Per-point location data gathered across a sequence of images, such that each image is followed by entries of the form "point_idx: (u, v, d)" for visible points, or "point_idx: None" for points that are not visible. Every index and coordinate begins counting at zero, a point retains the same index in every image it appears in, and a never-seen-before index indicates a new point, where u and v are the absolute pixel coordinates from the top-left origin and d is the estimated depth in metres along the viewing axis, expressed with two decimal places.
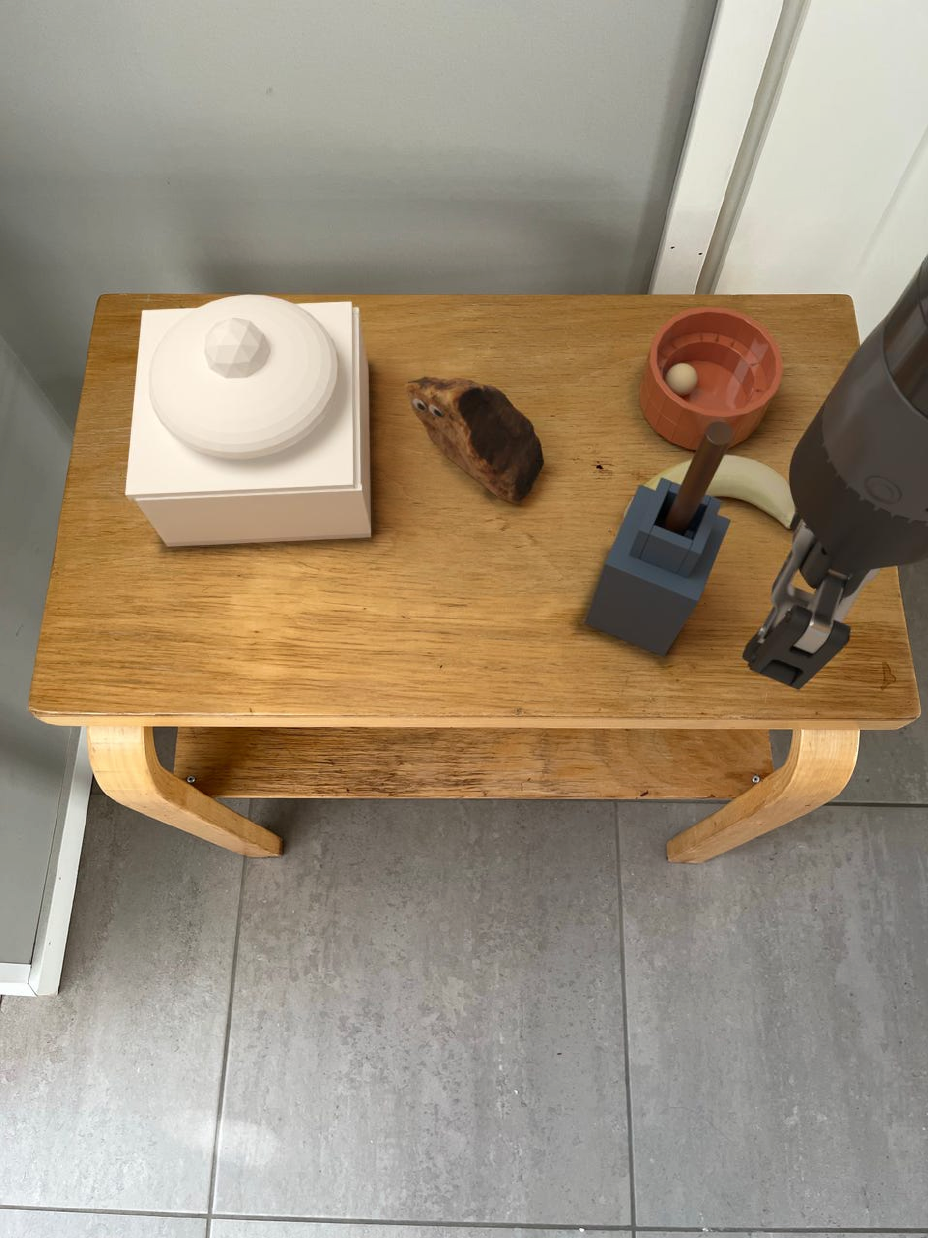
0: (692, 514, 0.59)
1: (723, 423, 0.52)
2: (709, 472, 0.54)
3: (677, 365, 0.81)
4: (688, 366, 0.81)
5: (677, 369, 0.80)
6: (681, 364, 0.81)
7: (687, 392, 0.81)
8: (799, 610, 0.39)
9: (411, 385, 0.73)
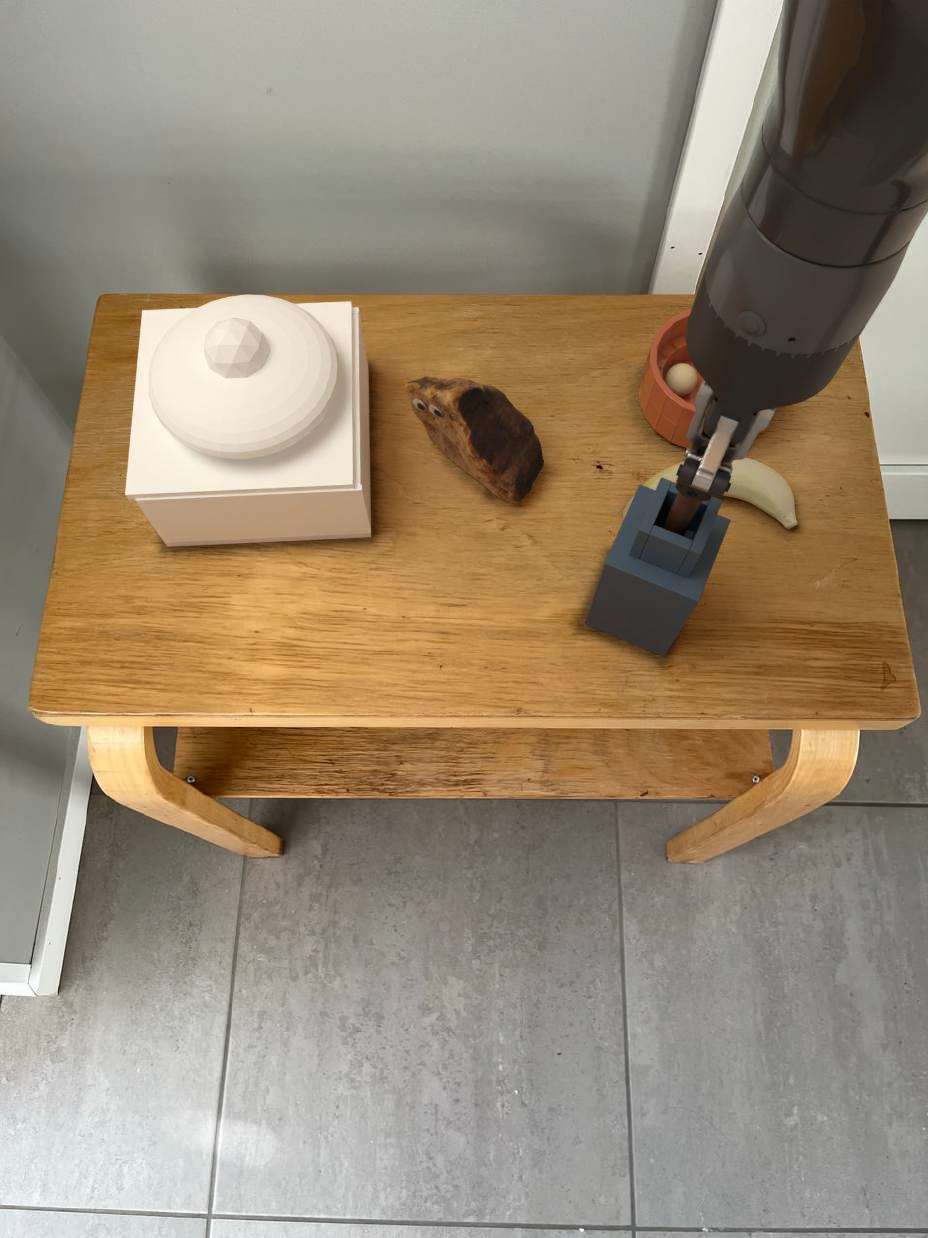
0: (692, 514, 0.59)
1: None
2: None
3: (677, 365, 0.81)
4: (688, 366, 0.81)
5: (677, 369, 0.80)
6: (681, 364, 0.81)
7: (687, 392, 0.81)
8: (686, 467, 0.46)
9: (411, 385, 0.73)
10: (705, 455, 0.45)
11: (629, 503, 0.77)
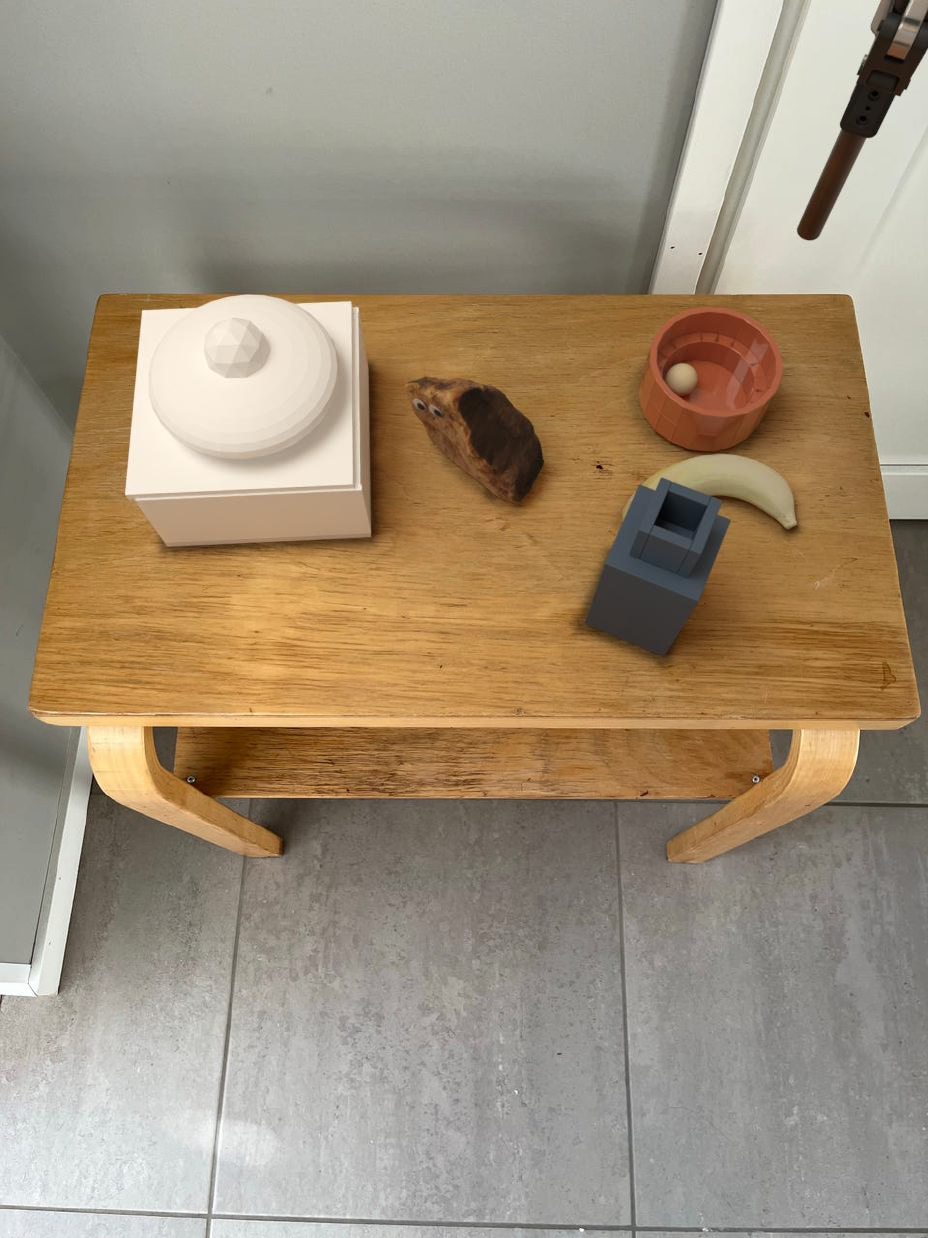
0: (846, 175, 0.57)
1: None
2: None
3: (677, 365, 0.81)
4: (688, 366, 0.81)
5: (677, 369, 0.80)
6: (681, 364, 0.81)
7: (687, 392, 0.81)
8: (889, 17, 0.43)
9: (411, 385, 0.73)
10: (910, 2, 0.43)
11: (628, 502, 0.77)
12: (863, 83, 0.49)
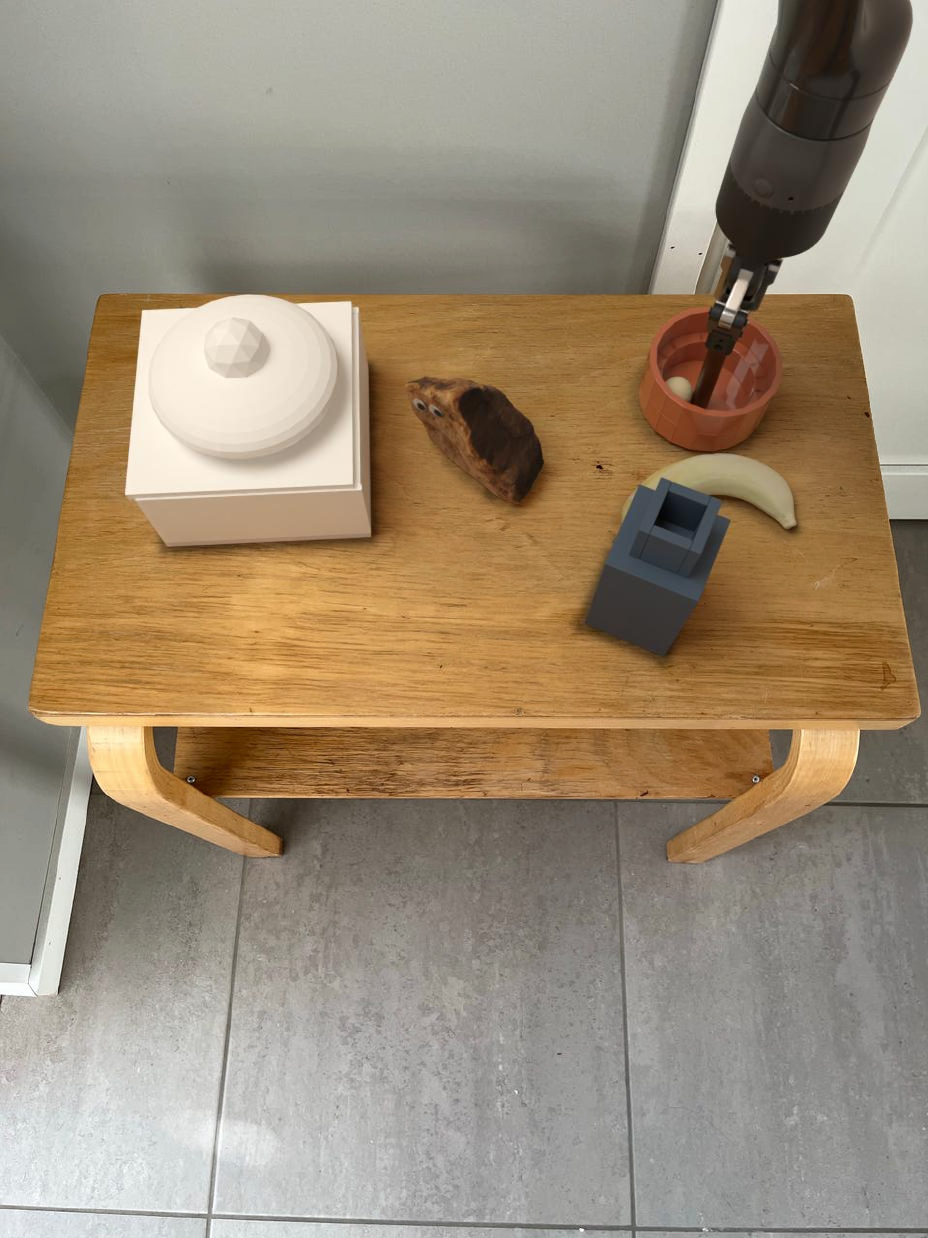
0: (718, 372, 0.77)
1: None
2: None
3: (675, 377, 0.81)
4: (681, 382, 0.80)
5: (670, 380, 0.80)
6: (678, 378, 0.80)
7: None
8: (715, 308, 0.63)
9: (411, 385, 0.73)
10: (729, 298, 0.63)
11: (628, 500, 0.77)
12: (710, 332, 0.68)
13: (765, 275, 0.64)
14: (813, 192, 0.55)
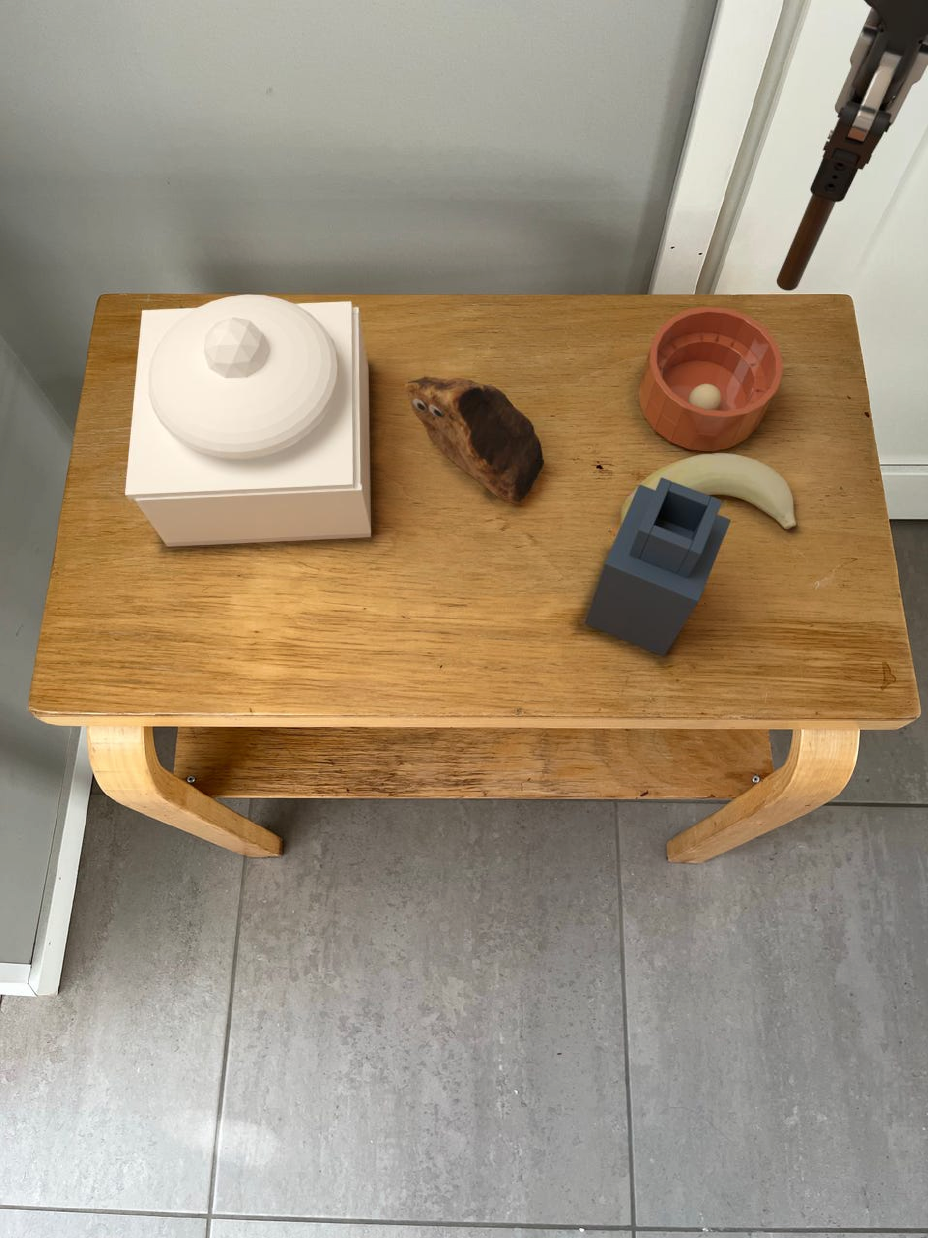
0: (819, 233, 0.62)
1: None
2: None
3: None
4: None
5: (721, 396, 0.80)
6: None
7: None
8: (848, 106, 0.48)
9: (411, 385, 0.73)
10: (867, 93, 0.48)
11: (628, 499, 0.77)
12: (828, 158, 0.53)
13: (910, 68, 0.49)
14: None
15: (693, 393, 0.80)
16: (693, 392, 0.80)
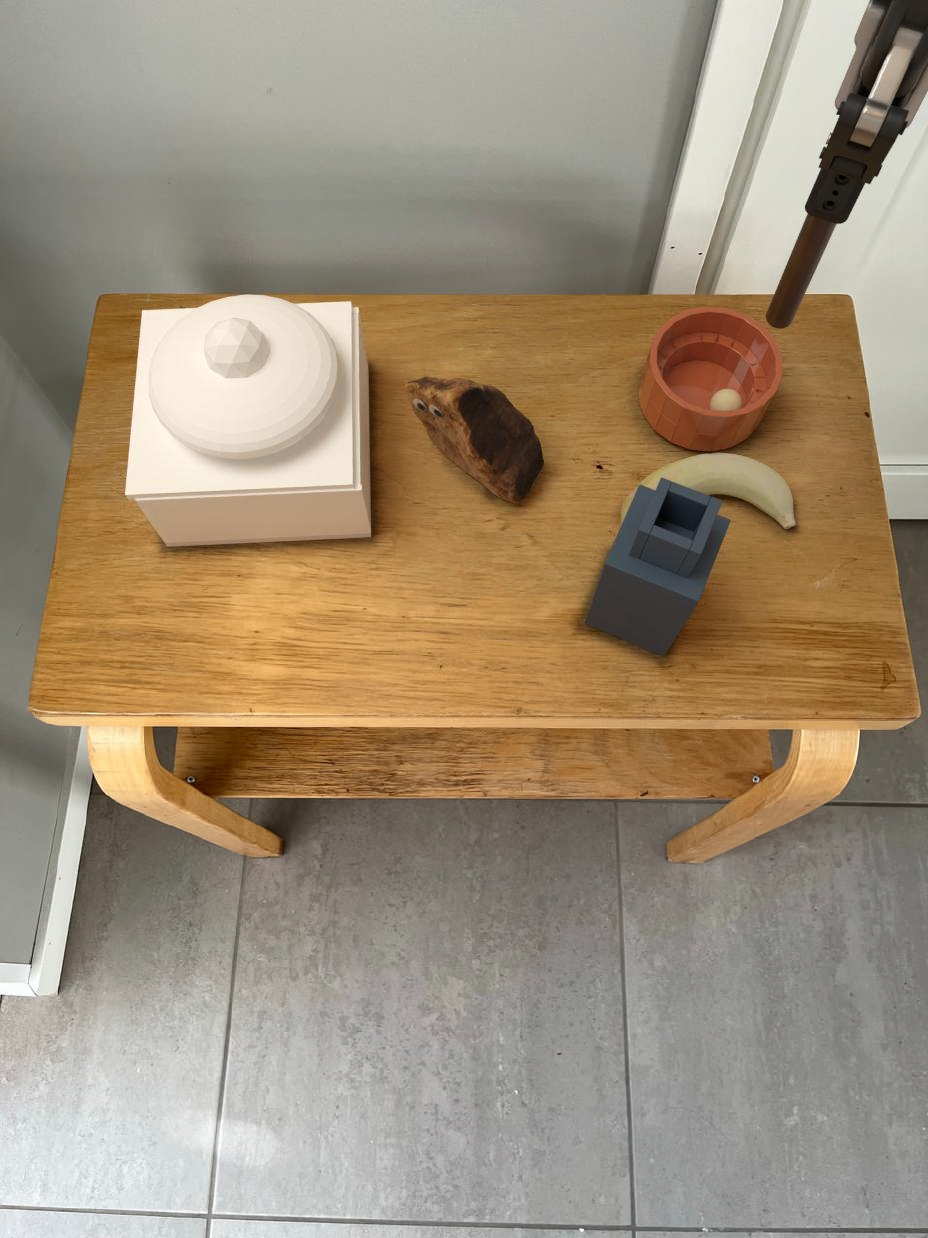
0: (817, 261, 0.50)
1: None
2: None
3: None
4: None
5: None
6: None
7: None
8: (851, 100, 0.36)
9: (411, 385, 0.73)
10: (876, 83, 0.36)
11: (627, 499, 0.77)
12: (826, 168, 0.41)
13: None
14: None
15: (734, 398, 0.79)
16: (734, 397, 0.79)
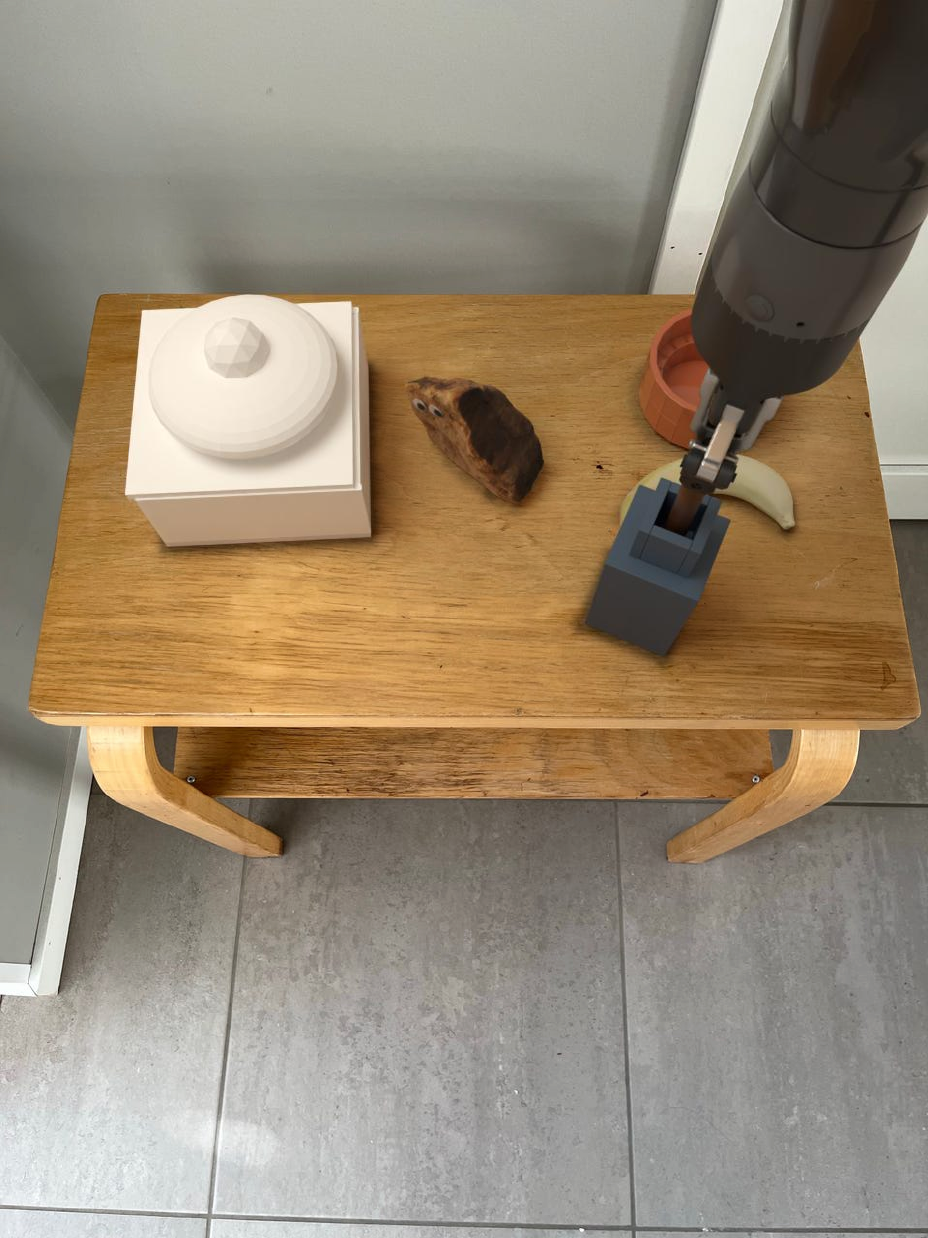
0: (696, 507, 0.59)
1: None
2: None
3: None
4: None
5: None
6: None
7: None
8: (690, 457, 0.45)
9: (411, 385, 0.73)
10: (710, 444, 0.44)
11: (627, 497, 0.77)
12: (685, 476, 0.50)
13: (761, 409, 0.46)
14: (834, 317, 0.37)
15: None
16: None
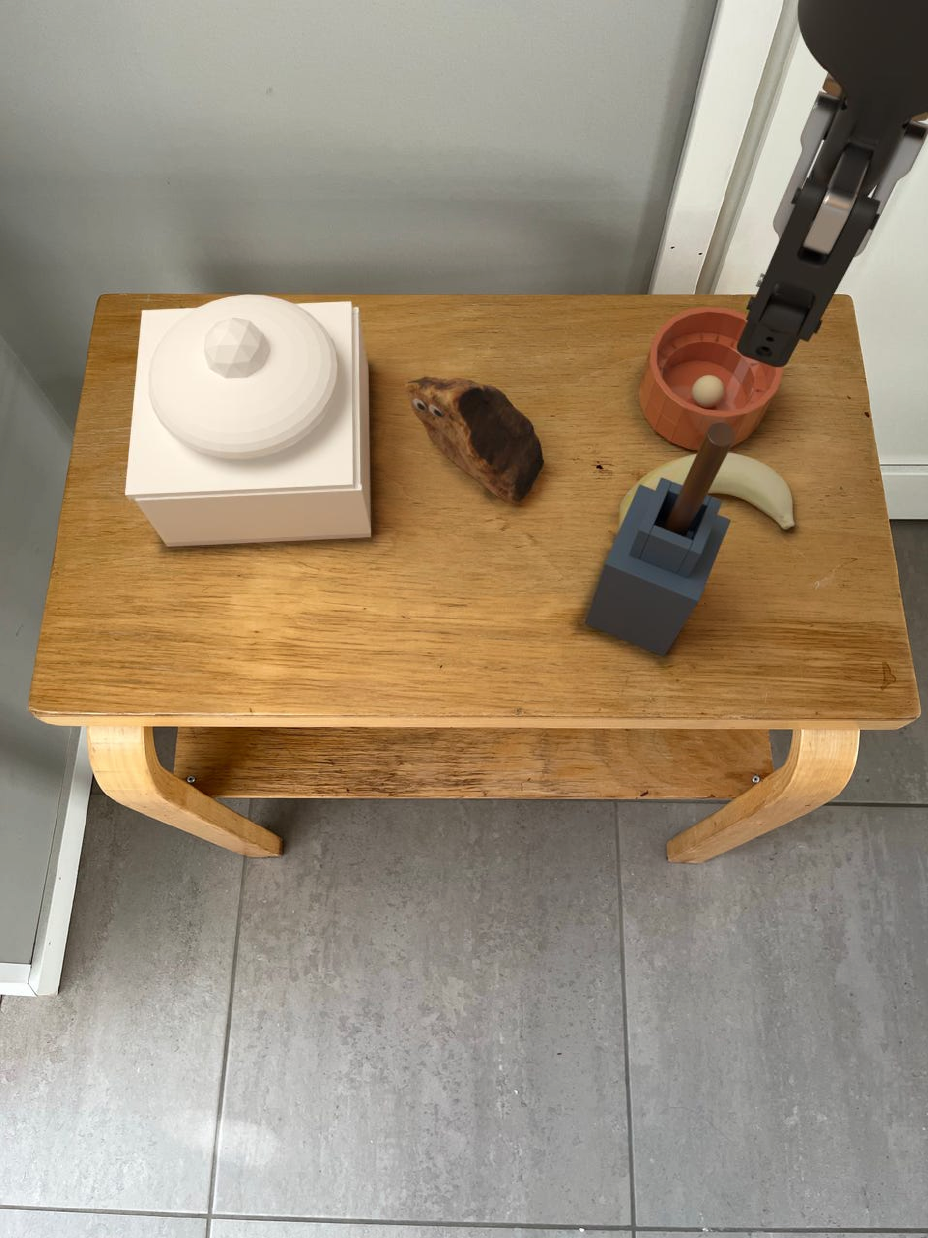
0: (694, 515, 0.59)
1: (724, 424, 0.52)
2: (711, 473, 0.54)
3: None
4: None
5: None
6: None
7: (700, 393, 0.80)
8: (811, 180, 0.29)
9: (411, 385, 0.73)
10: (837, 171, 0.29)
11: (626, 496, 0.77)
12: (755, 322, 0.34)
13: (896, 151, 0.31)
14: None
15: None
16: (699, 378, 0.81)
